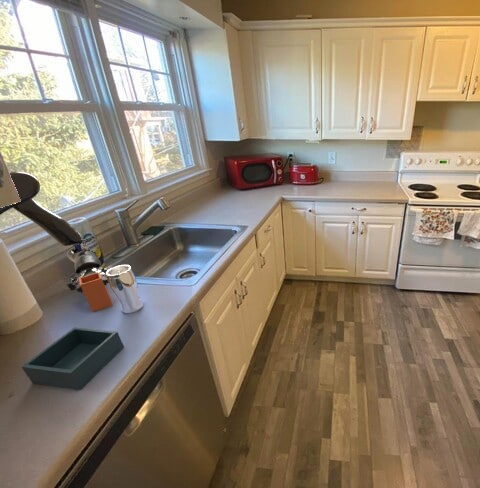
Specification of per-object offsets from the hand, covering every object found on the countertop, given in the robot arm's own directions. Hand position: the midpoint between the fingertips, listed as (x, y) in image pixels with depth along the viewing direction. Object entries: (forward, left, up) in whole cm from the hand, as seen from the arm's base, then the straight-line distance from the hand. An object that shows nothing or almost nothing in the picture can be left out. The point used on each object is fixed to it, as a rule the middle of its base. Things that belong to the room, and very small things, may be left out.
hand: (93, 286), depth 91 cm
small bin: (-2, +2, -9) cm, 9 cm away
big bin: (+14, -21, -9) cm, 27 cm away
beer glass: (+10, +2, -9) cm, 14 cm away
